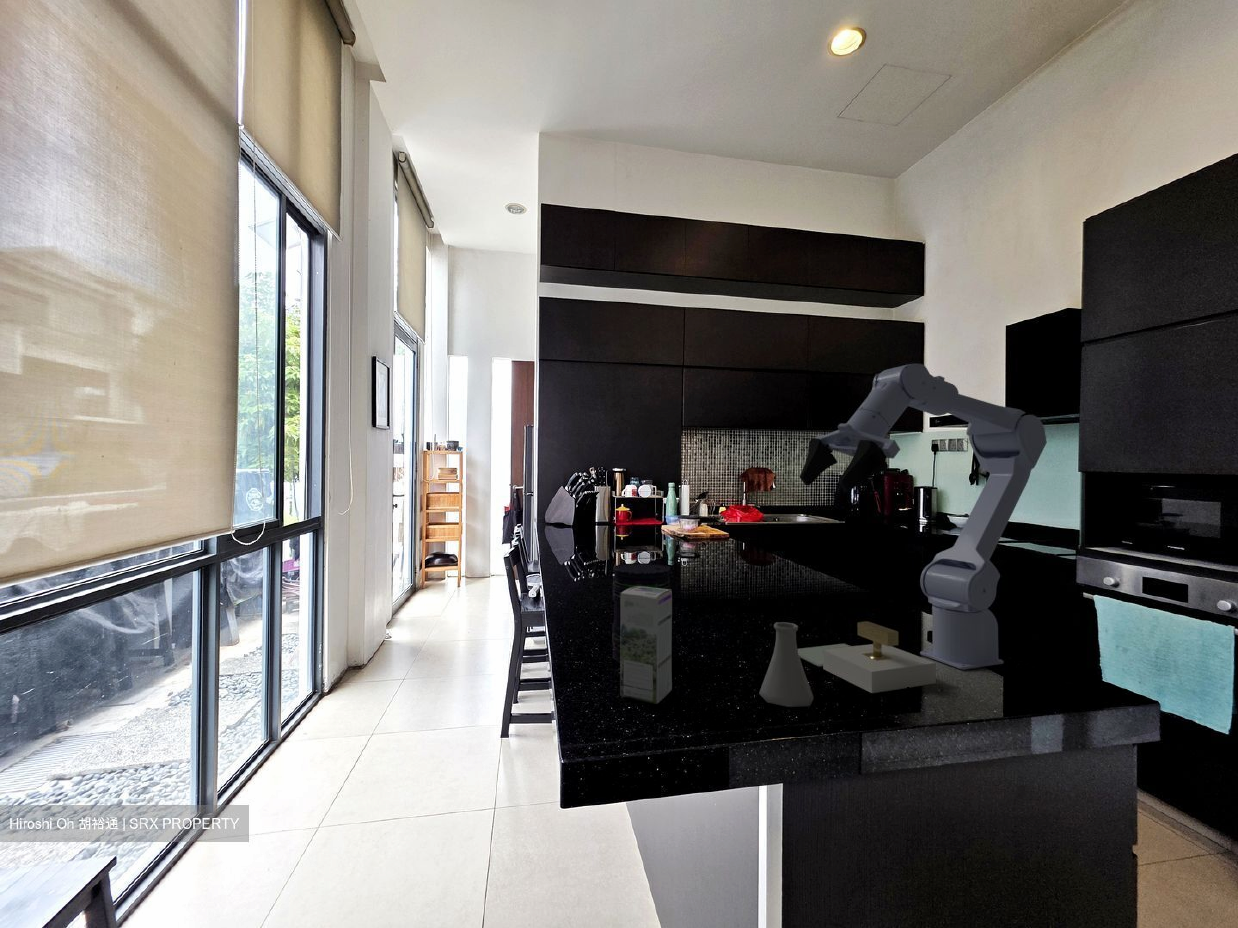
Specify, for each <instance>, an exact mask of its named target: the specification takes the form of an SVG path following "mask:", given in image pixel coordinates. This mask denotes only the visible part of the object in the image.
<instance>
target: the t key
mask: <svg viewBox="0 0 1238 928" xmlns="http://www.w3.org/2000/svg"><path fill="white" fill-rule="evenodd" d="M857 636H859V637H861V638H864V639H867V640H870V641H872V644H873V654H869V657H870V658H872V659H875V660H877V661H879V660H886V657H885V656H884V655H882V644H883V645H885V646H892V647H894V646H899V631H897V630H895V629H891V628H890V627H889V628H888V627H887V626H886V627H885V626H882V625H880V624H877V623H874V622H870V621H859V622H857Z"/></svg>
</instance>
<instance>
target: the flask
mask: <svg viewBox="0 0 1238 928" xmlns="http://www.w3.org/2000/svg"><path fill="white" fill-rule="evenodd" d="M773 628H774V629H775V644H774V647H773V648H774V649H773V653H772V657H771V659H770V662H769V666H768V669H767V671H766V673H765V676H764V679H763V682H762V684H761V686H760V687H761V688H760V690H759V693H758V694H759V696H761V697H762V698H763V699H764V701H765V702H766V703H768V704H774V705H779V706H783V707H787V708H794V707H795V708H796V707H798V708H799V707H811V704H812V703H813V701H814V695H813V691H812V688H811V687H810V684H809V681H808V679H807V676H806V672H805V670H804V666H803V664H802V660H801V658H800V657H799V654H798V649H799V648H798V645H797V631H798V630H799V626H798V625H797V624H795V623H792V622H786V621H785V622H780V621H779V622H777V621H776V622H775V623H774V624H773Z"/></svg>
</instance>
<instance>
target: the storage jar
mask: <svg viewBox="0 0 1238 928" xmlns="http://www.w3.org/2000/svg"><path fill="white" fill-rule="evenodd" d="M670 571H671V569H670V567H669V566H667V565H663V564H657V563H643V562H640V563H639V562H635V563H633V562H630V563H622V564H617V565H614V566H613V569H612V572H613V575H612V576H613V577H612V578H613V580H612V581H613V582H612V595H611V596H612V600H613V603H614V607H613V608H614V609H613V610H614V611H613V613H614V617H613V619H614V620H613V623H612V627H611V630H612V634H611V641H612V648H613V651H612V659H614V660H615V661H616V662H617V663H620V622H621V612H620V596H621V593H622V592H623V591H625V590H626V589H628V588H631V587H634V586H642V587H651V588H661V589H670V590H671V583H670V579H671V576H670V574H671V573H670Z"/></svg>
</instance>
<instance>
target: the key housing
mask: <svg viewBox="0 0 1238 928" xmlns="http://www.w3.org/2000/svg"><path fill="white" fill-rule="evenodd" d="M869 654H873V643H871V644H862V645H853V646H851V647H844V648H835V649H827V650H823V666H822V667H823V670H825V671H827V672H829V673H831V674H833V675H835V676H837V677H839V678H840V679H843V680H845V681H847V682H848V683H850V684H853V685H854V686H856V687H859V688H860V689H863V690H865V691H867V692H869V693H870V694H875V693H876V694H877V693H882V692H889V691H895V690H901V689H908V688H907V687H909V688H914V687H915V688H916V687H921V686H926V685H934V684H936V683H937V664H936V662H934V661H932V660H929V659H926V658H924V657H921V656H918V655H916V654H912V653H911V652H908V651H905V650H902V649H900V648H897V647H894V646H885V645H883V644H882V655H884V656H885V657H886V660H879V661H877V660H875V659H872V658H870V657H869Z"/></svg>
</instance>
